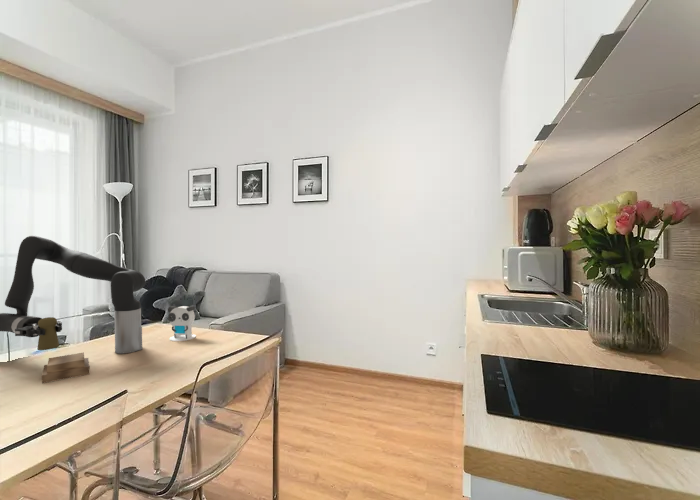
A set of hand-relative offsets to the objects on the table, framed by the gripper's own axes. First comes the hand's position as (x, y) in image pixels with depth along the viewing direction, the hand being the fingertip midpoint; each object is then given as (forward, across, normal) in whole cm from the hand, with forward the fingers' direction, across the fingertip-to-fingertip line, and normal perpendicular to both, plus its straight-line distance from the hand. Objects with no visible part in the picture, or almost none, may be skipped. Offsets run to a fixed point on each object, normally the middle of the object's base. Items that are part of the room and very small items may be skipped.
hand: (51, 330), depth 121 cm
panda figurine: (+9, +46, +14) cm, 49 cm away
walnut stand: (+12, -1, +13) cm, 18 cm away
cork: (-3, 0, +7) cm, 7 cm away
